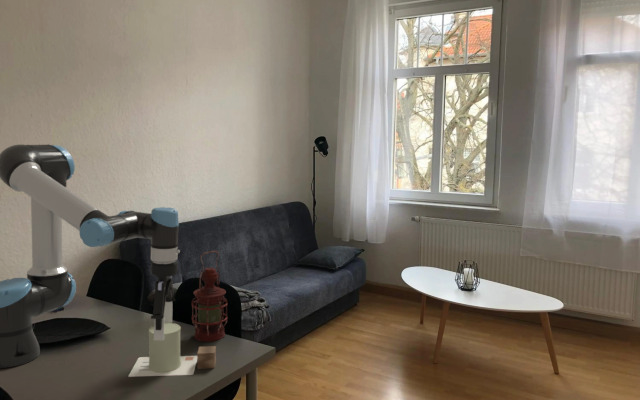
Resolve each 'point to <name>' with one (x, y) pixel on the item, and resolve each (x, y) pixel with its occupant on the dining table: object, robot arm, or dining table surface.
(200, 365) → the block
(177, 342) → the can
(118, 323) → the dining table surface
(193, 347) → the dining table surface
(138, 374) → the letter
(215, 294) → the lantern
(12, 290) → the robot arm
